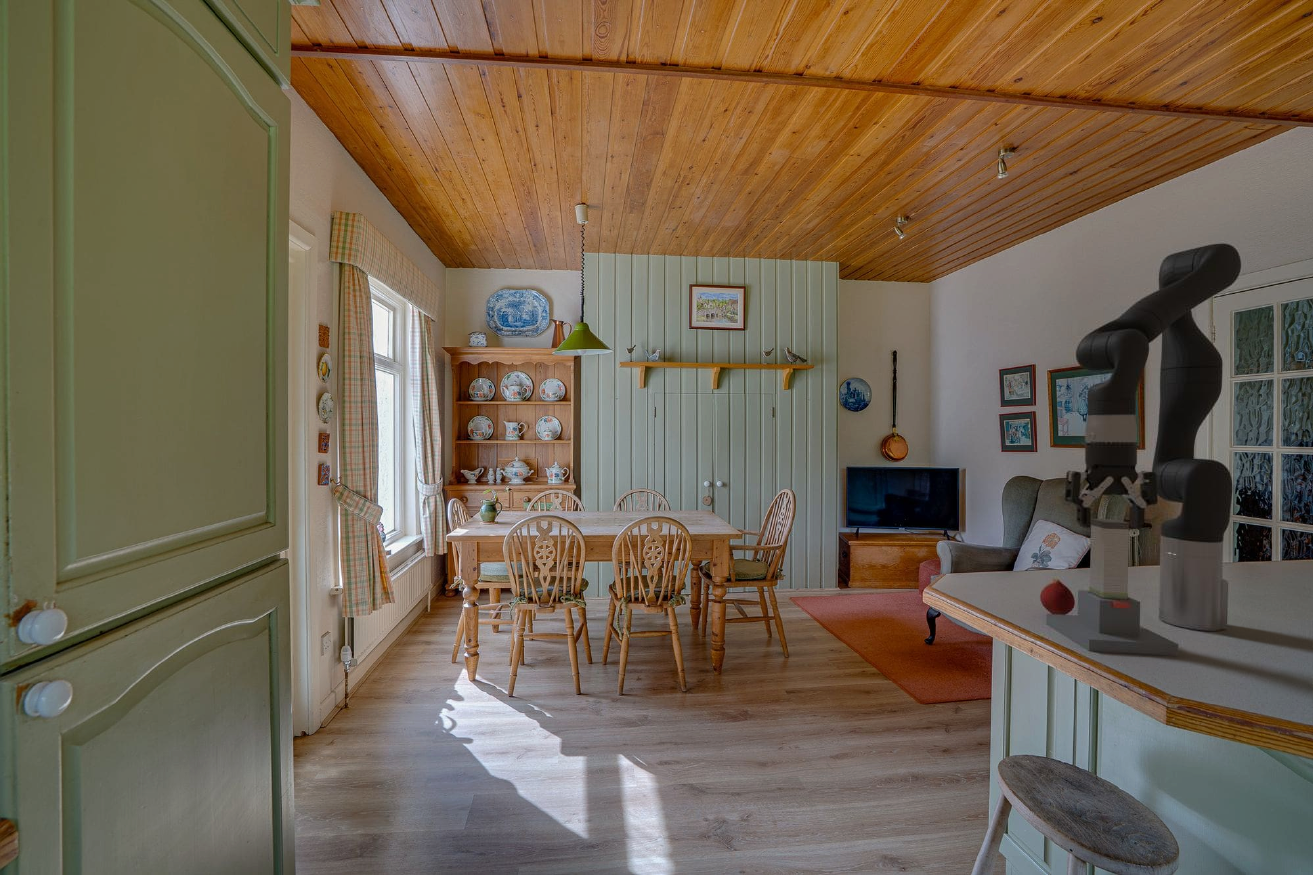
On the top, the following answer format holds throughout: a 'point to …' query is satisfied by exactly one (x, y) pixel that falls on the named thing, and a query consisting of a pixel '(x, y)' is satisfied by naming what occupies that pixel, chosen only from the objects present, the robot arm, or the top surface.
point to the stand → (1110, 627)
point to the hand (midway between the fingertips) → (1109, 527)
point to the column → (1109, 559)
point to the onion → (1057, 598)
